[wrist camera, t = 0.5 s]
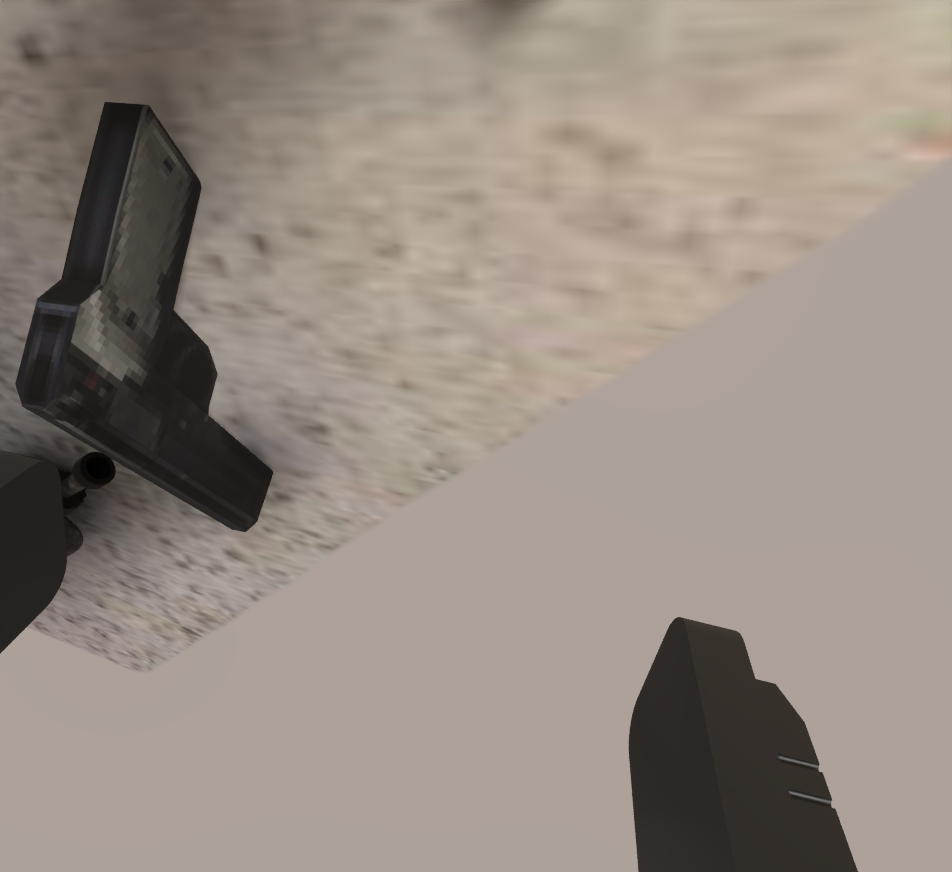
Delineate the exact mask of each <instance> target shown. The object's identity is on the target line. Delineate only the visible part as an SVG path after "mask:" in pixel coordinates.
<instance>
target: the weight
mask: <svg viewBox="0 0 952 872" xmlns="http://www.w3.org/2000/svg"><path fill="white" fill-rule="evenodd" d="M115 472H116V471H115V465H114V463H113V461H112V460H111V459H110V458H109V457H108V456H106V455H104V454H103V453H100V452H91V453H88V454H86V455H85V456H83V457H82V458H81V459H79V460H78V461H77V462H76V463H75V465H74V467H73V474H72V473H71V472H69V471H67V472H64V471H59V475H60V480H61V492H62V504H63V516H64V528H65V540H66V552H67V556H69V555H71V554H73V553H74V552H76V551H77V550H78V549H79V548H80V547H81V546H82V543H83V536H82V533H81V531H80V530H79V528H78V527H77V526H76V525H75V524H74V523H73V522H72V521H71V520H69V519H68V518H67V517H65V515H67V514H68V513H70V512H71V511H73V510H75V509H76V508H77V507H78V506H80V505H81V503H83V501H84V500H83V499H84V497H86V493H85V490H86V488H87V489H98V488H101V487H102V486H104V485H106V484H107V483H109V482H110V481H111V480H112V479H113V478H114V476H115Z"/></svg>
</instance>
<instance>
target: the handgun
mask: <svg viewBox="0 0 952 872" xmlns="http://www.w3.org/2000/svg"><path fill="white" fill-rule="evenodd" d="M200 192H201V184H200V180H199V179H198V177H197V176H196V175H195V173H194V172H193V170H192V169H191V167H190V166H189V164H188V163H187V161H186V160H185V158H184V157H183V155H182V154H181V152H180V151H179V149H178V148H177V146H176V145H175V143H174V142H173V141H172V139H171V138H170V136H169V135H168V133H167V132H166V130H165V129H164V127H163V126H162V124H161V123H160V121H159V120H158V118H157V117H156V115H155V114H154V112H153V111H152V109H151V108H150V107H149V105H141V104H127V103H113V102H105V103H104V107H103V111H102V115H101V119H100V123H99V127H98V131H97V135H96V138H95V142H94V146H93V150H92V154H91V158H90V162H89V166H88V170H87V173H86V177H85V181H84V185H83V189H82V193H81V197H80V201H79V205H78V208H77V213H76V217H75V221H74V226H73V230H72V235H71V239H70V244H69V248H68V253H67V257H66V262H65V266H64V271H63V275H62V279H61V280H60V281H59V282H57V283H56V284H55V285H54V286H52V287H51V288H50V289H49V290H48V291H46V292H45V293H44V294H43V295H42V296H40V297H39V298H38V299H37V302H36V306H35V310H34V314H33V318H32V322H31V326H30V329H29V333H28V337H27V341H26V345H25V349H24V353H23V356H22V360H21V364H20V368H19V372H18V376H17V380H16V383H15V384H16V387H17V390H18V393H19V397H20V400H21V403H22V406H23V407H25V408H26V409H28V410H30V411H31V412H33V413H35V414H36V415H38V416H40V417H42V418H43V419H45V420H47V421H48V422H50V423H52V424H53V425H55V426H57V427H59V428H60V429H62V430H64V431H65V432H67V433H69V434H70V435H72V436H74V437H76V438H77V439H79V440H81V441H82V442H84V443H86V444H87V445H89V446H91V447H93V448H94V449H96V450H98V451H99V452H101V453H103V454H104V455H106V456H108V457H110V458H111V459H113V460H115V461H116V462H118V463H120V464H122V465H123V466H125V467H127V468H128V469H130V470H132V471H133V472H135V473H137V474H139V475H140V476H142V477H144V478H145V479H147V480H149V481H150V482H152V483H154V484H156V485H157V486H159V487H161V488H162V489H164V490H166V491H167V492H169V493H171V494H173V495H174V496H176V497H178V498H179V499H181V500H183V501H184V502H186V503H188V504H190V505H191V506H193V507H195V508H196V509H198V510H200V511H201V512H203V513H205V514H207V515H208V516H210V517H212V518H213V519H215V520H217V521H218V522H220V523H222V524H224V525H225V526H227V527H229V528H230V529H232V530H237V531H243V532H246V531H247V530H248V529H250V528H251V527H252V526H253V525H254V524H255V523H256V522H257V520H258V517H259V514H260V511H261V508H262V505H263V502H264V499H265V496H266V493H267V490H268V487H269V484H270V481H271V478H272V475H273V472H272V470H271V469H270V468H269V467H267V466H266V465H265V464H264V463H263V462H262V461H261V460H259V459H258V458H257V457H256V456H255V455H254V454H252V453H251V452H250V451H249V450H248V449H247V448H245V447H244V446H243V445H242V444H241V443H240V442H239V441H237V440H236V439H235V438H234V437H233V436H232V435H230V434H229V433H228V432H227V431H226V430H225V429H224V428H222V427H221V426H220V425H219V424H218V423H217V422H215V421H214V420H213V419H212V418H211V417H210V416H208V410H209V404H210V400H211V397H212V393H213V389H214V385H215V381H216V378H217V371H216V368H215V365H214V362H213V359H212V356H211V353H210V350H209V348H208V346H207V345H206V344H205V343H204V342H203V341H202V340H201V339H200V338H199V337H198V335H197V334H196V333H195V332H194V331H193V330H192V329H191V328H190V327H189V326H188V325H187V324H186V323H185V322H184V321H183V320H182V319H181V318H180V317H179V315H178V314H177V313H176V312H175V311H174V310H173V308H174V303H175V299H176V294H177V290H178V285H179V281H180V276H181V272H182V268H183V264H184V259H185V255H186V251H187V247H188V242H189V238H190V234H191V230H192V225H193V221H194V217H195V213H196V208H197V204H198V200H199V196H200Z"/></svg>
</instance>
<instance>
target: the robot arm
mask: <svg viewBox="0 0 952 872" xmlns="http://www.w3.org/2000/svg"><path fill="white" fill-rule="evenodd" d="M66 564H67V552H66V540H65V528H64V516H63V504H62V492H61V480H60V475H59V472H58V470H57V468H56V467H55V466H54V465H53V464H52V463H50V462H47V461H43V460H39V459H35V458H31V457H26V456H22V455H18V454H14V453H10V452H6V451H2V450H0V653H1V652H2V651H3V650H4V649H5V648H6V647H7V646H8V645H9V644H10V643H11V642H12V641H13V640H14V639H15V638H16V637H17V636H18V635H19V634H20V633H21V632H22V631H23V630H24V629H25V628H26V627H27V626H28V625H29V624H30V623H31V622H32V621H33V620H34V619H35V618H36V617H37V616H38V615H39V614H40V613H41V612H42V611H43V610H44V609H45V608H46V607H47V606H48V605H49V603H50V602H51V601H52V599H53V598H54V596H55V595H56V593H57V591H58V589H59V587H60V585H61V583H62V580H63V577H64V574H65V570H66ZM629 759H630V772H631V784H632V797H633V809H634V821H635V833H636V845H637V858H638V870H639V872H858V871H857V868H856V865H855V862H854V860H853V857H852V854H851V851H850V848H849V846H848V843H847V840H846V837H845V834H844V831H843V829H842V826H841V824H840V820H839V817H838V815H837V812H836V809H833V808H832V807H831V801H832V798H831V795H830V792H829V790H828V787H827V784H826V781H825V778H824V775H823V773H822V772H819V770H818V767H819V761H818V759H817V756H816V753H815V750H814V747H813V745H812V742H811V739H810V737H809V733H808V731H807V728H806V725H805V723H804V721H803V720H802V719H801V717H800V716H799V715H798V714H797V712H796V711H795V709H794V708H793V707H792V705H791V704H790V703H789V701H788V700H787V699H786V697H785V696H784V695H783V693H782V692H781V691H780V689H779V688H778V687H777V686H776V684H773V683H769V682H765V681H761V680H757V679H755V677H754V673H753V670H752V666H751V663H750V660H749V656H748V653H747V650H746V646H745V643H744V640H743V638H742V636H741V635H740V633H738V632H737V631H734V630H730V629H726V628H722V627H717V626H713V625H709V624H705V623H701V622H697V621H693V620H689V619H685V618H681V617H678V618H676V619H674V621H673V622H672V623H671V624H670V626H669V628H668V630H667V632H666V634H665V637H664V639H663V641H662V644H661V646H660V648H659V650H658V653H657V655H656V657H655V660H654V662H653V664H652V666H651V669H650V671H649V673H648V676H647V678H646V680H645V682H644V685H643V687H642V689H641V691H640V694H639V696H638V698H637V701H636V704H635V707H634V710H633V714H632V720H631V726H630V734H629Z"/></svg>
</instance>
